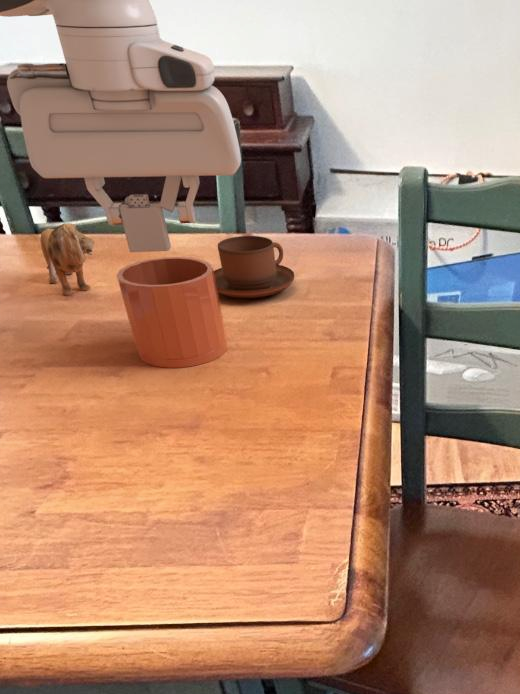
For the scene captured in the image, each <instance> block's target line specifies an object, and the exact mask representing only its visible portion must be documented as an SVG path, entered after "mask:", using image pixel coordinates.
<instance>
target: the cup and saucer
mask: <svg viewBox="0 0 520 694" xmlns="http://www.w3.org/2000/svg"><path fill="white" fill-rule="evenodd" d="M275 249H277V250H278V258H277V259H276V255H275ZM217 250H218V255H219V260H220V266H221V267H220V268H217V269H214V275H215V281H216V286H217V291H218V294H220V295H223V296H225V297H231V298H237V299H238V298H239V299H255V298H264V297H268V296H272V295H276V294H278V293H280V292H282V291H284V290H286V289H287V288H289V287H290V286H291V284H292V283H293V282H294V280H295V271H293V270H292V269H291V268H289V267H287V266H285V265H281V263H282V262H283V259H284V249H283V247H282V244H280V243H279V242H276V241H275V242H273V240H272V239H271V238H268V237H264V236H258V235H239V236H232V237H228V238H225V239H222V240H220V241H219V242H218V243H217Z"/></svg>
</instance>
